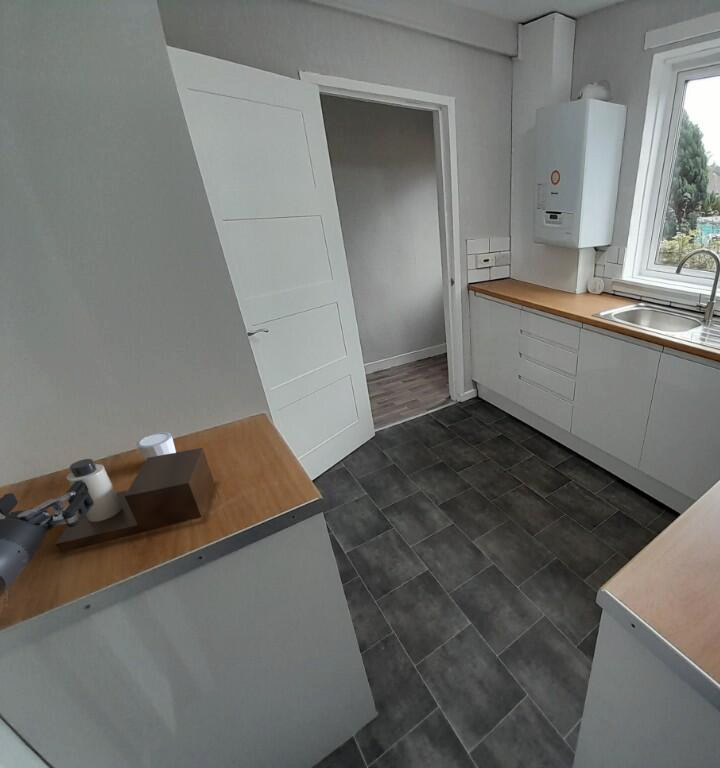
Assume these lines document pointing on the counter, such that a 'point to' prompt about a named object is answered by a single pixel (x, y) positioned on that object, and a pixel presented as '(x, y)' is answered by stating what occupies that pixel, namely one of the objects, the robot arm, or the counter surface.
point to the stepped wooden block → (150, 500)
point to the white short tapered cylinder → (156, 445)
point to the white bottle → (96, 489)
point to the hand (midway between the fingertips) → (47, 491)
